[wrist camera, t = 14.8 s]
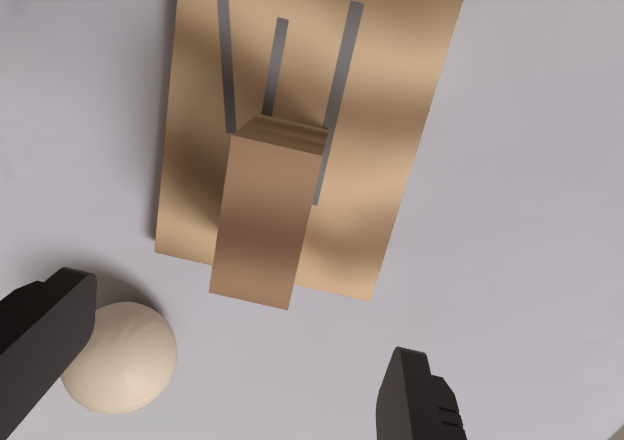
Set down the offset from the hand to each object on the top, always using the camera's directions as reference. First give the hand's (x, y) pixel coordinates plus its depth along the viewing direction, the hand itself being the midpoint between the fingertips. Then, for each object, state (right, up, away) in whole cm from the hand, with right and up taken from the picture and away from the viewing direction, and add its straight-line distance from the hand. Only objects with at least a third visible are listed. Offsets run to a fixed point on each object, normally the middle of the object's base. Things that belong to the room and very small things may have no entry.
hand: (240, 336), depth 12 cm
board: (+1, +11, +14) cm, 17 cm away
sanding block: (0, +5, +15) cm, 15 cm away
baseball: (-10, -5, +21) cm, 24 cm away
